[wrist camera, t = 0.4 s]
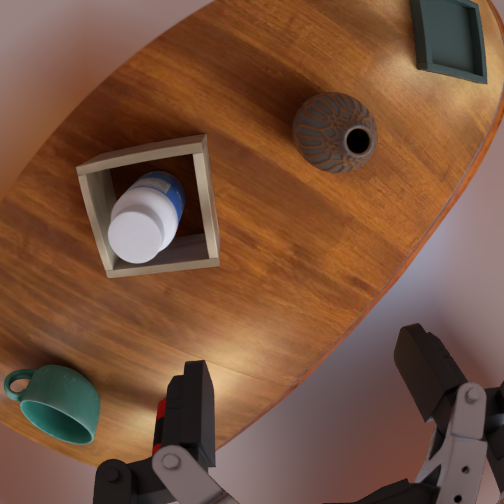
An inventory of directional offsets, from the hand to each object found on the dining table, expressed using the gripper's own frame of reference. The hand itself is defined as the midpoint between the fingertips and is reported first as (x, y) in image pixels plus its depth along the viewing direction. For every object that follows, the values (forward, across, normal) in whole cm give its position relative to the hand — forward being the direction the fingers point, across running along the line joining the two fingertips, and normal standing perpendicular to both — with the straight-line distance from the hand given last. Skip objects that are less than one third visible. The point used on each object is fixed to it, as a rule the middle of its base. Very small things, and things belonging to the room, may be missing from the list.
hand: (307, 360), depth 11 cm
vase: (+21, -7, -6) cm, 23 cm away
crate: (+20, +9, -1) cm, 23 cm away
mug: (+21, +35, +24) cm, 47 cm away
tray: (+20, -23, -18) cm, 36 cm away
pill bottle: (+21, +9, -1) cm, 23 cm away
